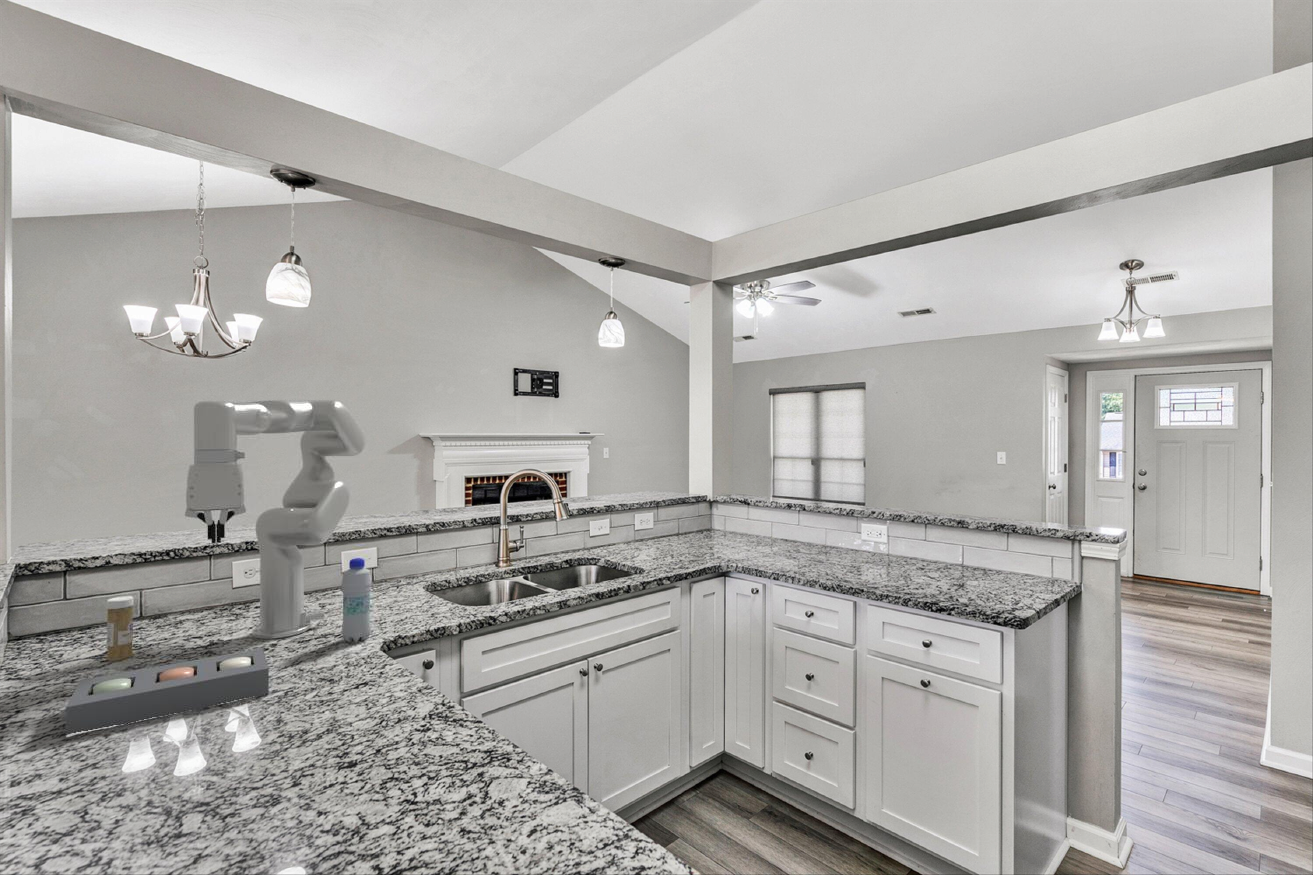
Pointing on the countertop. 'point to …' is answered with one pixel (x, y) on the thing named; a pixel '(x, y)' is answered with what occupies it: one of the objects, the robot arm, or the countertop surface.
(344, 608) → the bottle
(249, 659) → the cream button
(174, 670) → the terracotta button
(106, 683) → the sage button
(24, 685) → the countertop surface
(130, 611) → the sprinkles bottle
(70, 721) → the button box
